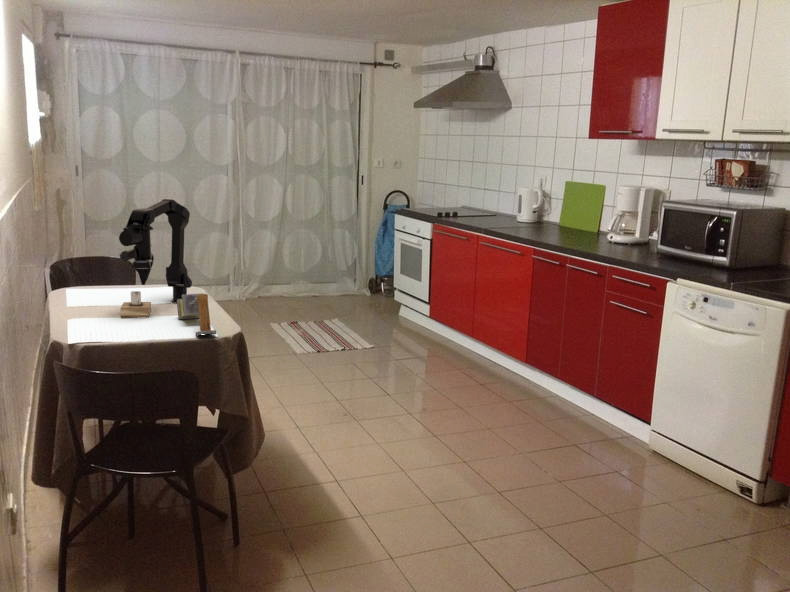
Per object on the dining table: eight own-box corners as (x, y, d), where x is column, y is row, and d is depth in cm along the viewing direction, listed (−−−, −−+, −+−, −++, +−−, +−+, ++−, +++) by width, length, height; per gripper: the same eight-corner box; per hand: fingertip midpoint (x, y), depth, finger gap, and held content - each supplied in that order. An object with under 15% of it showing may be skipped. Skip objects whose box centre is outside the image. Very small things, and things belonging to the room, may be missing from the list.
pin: (132, 311, 270) (131, 291, 268) (141, 311, 271) (141, 291, 269) (131, 313, 266) (130, 293, 265) (141, 313, 267) (140, 292, 266)
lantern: (180, 344, 263) (196, 334, 237) (176, 299, 265) (191, 285, 239) (201, 342, 267) (219, 333, 241) (197, 298, 269) (214, 284, 243)
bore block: (124, 312, 272) (123, 302, 271) (151, 311, 275) (150, 301, 274) (120, 318, 263) (120, 307, 262) (148, 317, 265) (148, 307, 264)
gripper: (123, 239, 274) (125, 277, 277) (117, 246, 256) (119, 287, 260) (153, 239, 277) (155, 277, 280) (148, 246, 259) (150, 287, 262)
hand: (144, 282), depth 271 cm, fingers open, 9 cm apart
